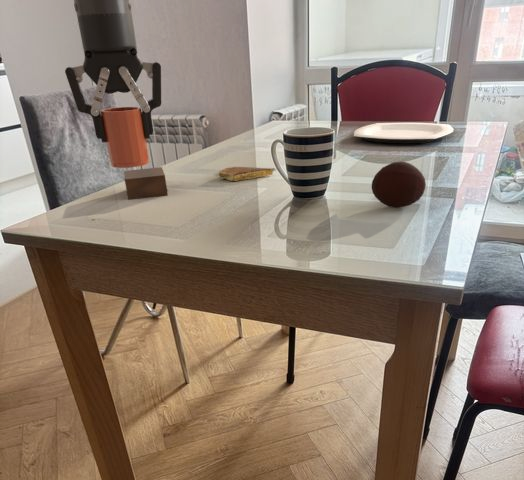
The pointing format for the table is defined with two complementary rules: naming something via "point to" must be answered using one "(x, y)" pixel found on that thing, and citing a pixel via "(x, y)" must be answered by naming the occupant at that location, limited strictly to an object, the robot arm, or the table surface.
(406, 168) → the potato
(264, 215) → the table surface
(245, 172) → the cake slice
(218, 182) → the table surface
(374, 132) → the plate
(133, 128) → the cup
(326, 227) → the table surface
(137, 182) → the block
